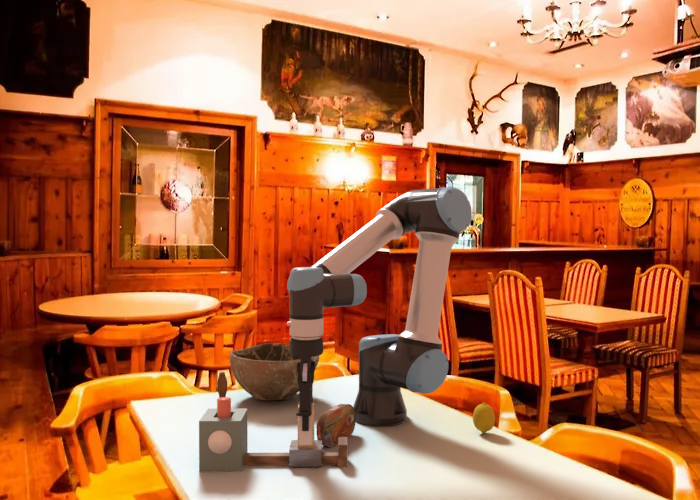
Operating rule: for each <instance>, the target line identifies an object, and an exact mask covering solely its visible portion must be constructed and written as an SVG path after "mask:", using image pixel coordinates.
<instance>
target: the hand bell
mask: <svg viewBox="0 0 700 500" xmlns="http://www.w3.org/2000/svg"><path fill="white" fill-rule="evenodd" d="M216 389H217V393H218V398H221V397H227V396H226V395H227V392H228V379H227V377H226V373H225V371H221V372H219V375H218V377H217V382H216Z"/></svg>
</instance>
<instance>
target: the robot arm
mask: <svg viewBox="0 0 700 500" xmlns="http://www.w3.org/2000/svg"><path fill="white" fill-rule="evenodd" d="M472 213H473V212H472V207H471V202H470V200H469V199H468V196H467V195H466V194H465V193H464V192H463V191H462V190H461V189H459V188H457V187H446V186H442V187H437V188H436V187H435V188H434V187H433V188H423V189H413V190H408V191H406V192H404V193H403V194H401V195H399V196H397V197H396V198H393V199H392V200H391V201H389V202H388V203H386V204H385V205H384V206H383V207H381V208H380V209H379V210H377V212H376V214H375V217H374V218H373V219H371V220H370V221H369V222H368V223H366V224H365V225H363V226H362V227H361V228H360V229H359V230H357V231H356V232H354V233H353V234H352V235H351V236H349V237H348V238H346V240H344V241H343V242H341V243H340V244H339V245H337V246H336V247H334V248H333V249H332V250H331V251H330V252H328V253H326V255H324V256H323V257H322V258H320V259H319V260H318V261H317V262H315V263H314V264H313V265H311V266H301V267H300V266H299V267H294V268H292V269H291V270H290V272H289V277H288V279H287V281H286V282H287V284H286V290H287V291H288V295H289V296H288V297H289V298H288V299H289V300H288V301H289V321H287V322H286V326H287V327H289V335H290V336H291V337H290V338H289V339H288V342H289V352H290V354H291V355H293V356H299V357H300V358H301V360H300V361H298V364H297V372H298V384H299V392H298V393H299V395H298V397H299V398H298V402H299V403H298V405H299V413H298V412H296V413H295V416H296V417H298V416H299V445H312V412H311V403H314V402H313V401H314V398H313V396H314V395H313V391H314V390H313V389H314V388H313V386H314V385H313V384H314V382H315V372H314V371H316V369H315V361H313V360H312V356H319V357H320V356H321V355H322V354H323V353H324V339H323V337H322V336H323V335H324V309H330V308H341V307H342V308H343V307H345V308H346V307H353V306H358V305H360V304H362V303H363V302H364V301H365V300H366V298H367V294H368V293H367V292H368V289H367V283H366V280H365V279H364V277H363V276H362V275H360V274H357V273H351V272H353V271H354V270H356V269H357V268H358V267H359V266H360V265H361V264H363V263H364V262H366V261H367V260H368V259H370V258H371V257H372V256H373V255H375V254H376V252H378V251H380V250H381V248H382V247H384V246H386V244H388V243H389V242H391V241H392V240H398V239H399V238H401V237H403V235H406V234H409V233H415V234H414V235H415V236H416V238H417V239H418V241H419V242H418V249H417V254H416V261H415V268H414V274H413V279H412V287H411V292H410V297H409V305H408V309H407V310H408V311H407V317H406V323H405V329H404V330H403V331H402V332H401V333H400V334H395V333H390V334H389V333H387V334H375V335H374V334H373V335H368V336H365V337H362V338H361V339H360V340H359V344H358V349H359V350H358V351H357V352H358V391H357V395H356V397H355V400H354V403H353V405H352V406H353V408H354V410H355V414H356V422H358V423H359V424H362V425H365V426H366V425H367V426H374V427H375V426H377V427H386V426H387V427H389V426H394V425H395V426H396V425H399V424H402V423H404V422H405V421H406V420H407V418H408V417H407V416H408V415H407V412H408V411H407V407H406V404H405V401H404V398H403V397H404V396H403V394H402V391H401V389H405V390H408V391H410V392H412V393H419V394H425V395H426V394H427V395H428V394H431V393H434V392H436V391H437V390H438V389H439V387H442V385H443V384H444V382H445V381H446V378H447V375H448V372H449V360H448V359H447V358H448V357H447V355H446V353H445V352H444V351H443V349H442V347H443V342H442V341H441V339H440V337H439V330H440V323H441V317H442V310H443V306H444V305H443V303H444V297H445V291H446V285H447V277H448V272H449V265H450V259H451V258H450V257H451V253H452V247H453V245H455V244H456V243H458V242H459V239H460V233H463V232H464V231H465V230H466V231H467V229H468V228H469V227H470V224H471V222H472ZM314 409H316V403H314Z"/></svg>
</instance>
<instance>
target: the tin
mask: <svg viewBox="0 0 700 500" xmlns="http://www.w3.org/2000/svg"><path fill="white" fill-rule="evenodd" d="M353 406H354V405H352V404H349V403H339V404H337V405H335V406H333V407H332V408H330V409H327V410H326V411H324V412H322V413H321V414H320V415H319V417H318V419H317V421H316V437H317V438H316V440H322V447H323V446H324V447H329V448H334V447H336V446H338V437H347V439H349V438H350V437H351V436H352V435H353V433H354V431H355V427H356V422H357V421H356V414H355V410H354V408H353Z"/></svg>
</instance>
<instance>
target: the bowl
mask: <svg viewBox="0 0 700 500" xmlns="http://www.w3.org/2000/svg"><path fill="white" fill-rule="evenodd" d="M300 360H301V358H300V357H299V356H293V355H291V354H290V352H289V345H288V344H285V345H283V343H273V344H272V343H271V342H270V343H269V342H268V343H267V342H266V343H262V344H257V345H253V346H251V347H246V348H244V349H237V350H232V351H231V352H230V354H229V363H230V370H231V372H232V375H233V377H234V379H235V380H236V381H235V382H237V383H238V385H239V386H240V387H241V388H242V389H243V390H244V391H245V392H246V393H248V394H249V395H250V396H251V397H253V398H254V399H256V400H259V401H265V402H266V401H268V402H269V401H272V402H273V401H278V400H279V401H285V400H287V399H289V398H292V397H293V396H295V395H297V393H299V384H298V372H297V364H298V361H300ZM312 360H313V361H315V371H316V369H317V366H318V363H319V361H320V355H319V356H312ZM315 371H314V373H315Z"/></svg>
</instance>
